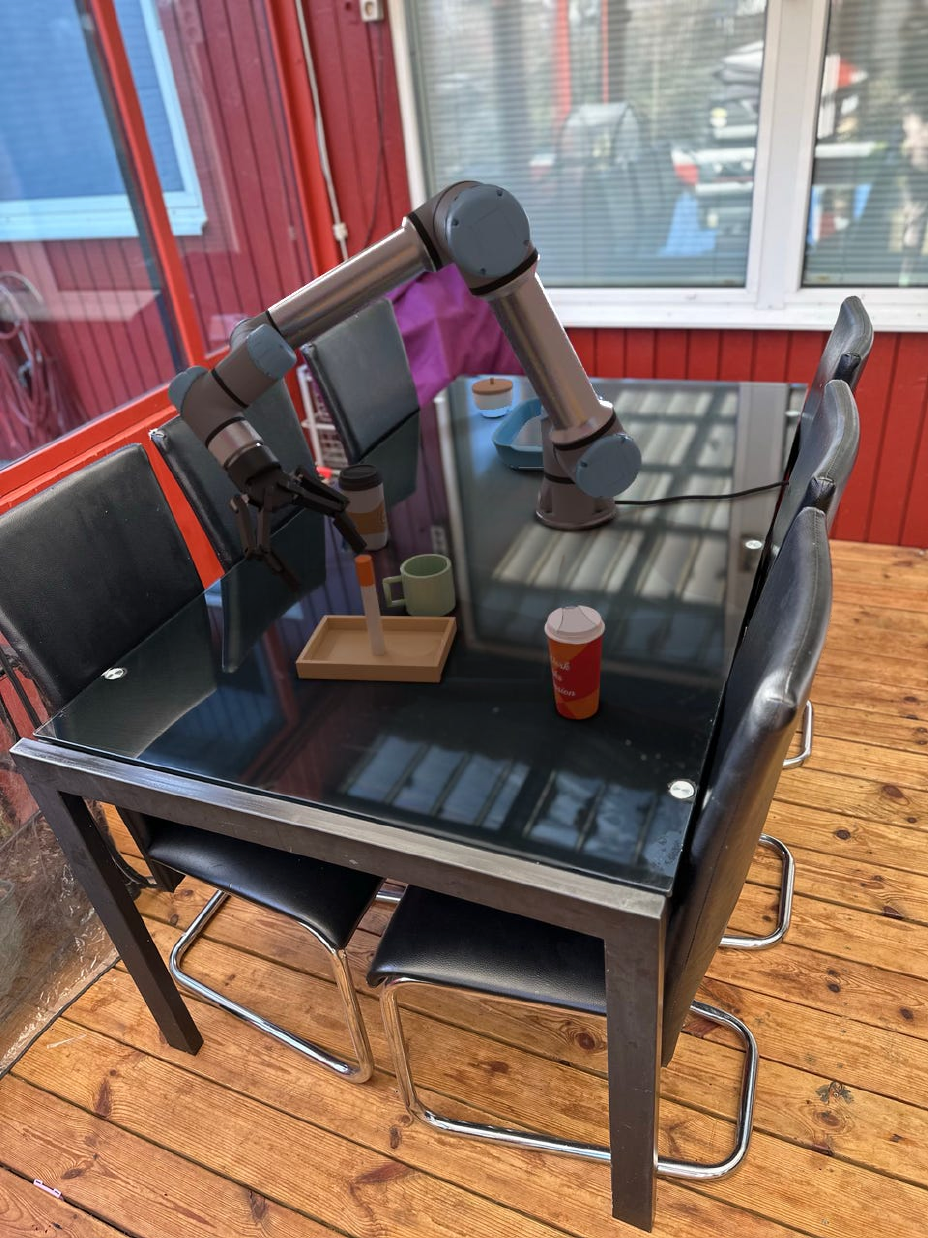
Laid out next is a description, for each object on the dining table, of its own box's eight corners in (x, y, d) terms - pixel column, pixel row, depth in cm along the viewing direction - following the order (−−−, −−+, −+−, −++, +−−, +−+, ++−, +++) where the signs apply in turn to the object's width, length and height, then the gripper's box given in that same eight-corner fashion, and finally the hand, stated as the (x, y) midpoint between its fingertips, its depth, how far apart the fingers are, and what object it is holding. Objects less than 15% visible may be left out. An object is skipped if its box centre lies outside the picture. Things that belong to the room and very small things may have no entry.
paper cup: (544, 693, 123) (539, 607, 116) (599, 687, 123) (597, 600, 116) (554, 728, 116) (549, 638, 109) (611, 721, 117) (611, 631, 109)
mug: (451, 592, 150) (446, 550, 146) (459, 616, 143) (454, 573, 139) (385, 603, 149) (379, 561, 145) (390, 628, 142) (383, 584, 138)
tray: (457, 632, 139) (455, 617, 138) (439, 682, 128) (437, 666, 126) (327, 629, 144) (324, 615, 142) (298, 678, 132) (295, 662, 131)
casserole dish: (583, 481, 186) (582, 449, 182) (482, 477, 193) (480, 446, 189) (615, 422, 215) (615, 393, 212) (527, 420, 222) (525, 392, 219)
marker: (388, 647, 136) (373, 554, 128) (384, 656, 134) (368, 562, 126) (373, 646, 137) (357, 554, 128) (369, 655, 135) (352, 562, 126)
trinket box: (470, 421, 226) (467, 385, 221) (477, 408, 235) (474, 372, 230) (512, 420, 224) (509, 383, 219) (517, 406, 233) (515, 371, 228)
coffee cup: (385, 554, 165) (374, 479, 157) (343, 554, 167) (330, 479, 159) (397, 534, 172) (387, 462, 164) (357, 534, 174) (344, 462, 166)
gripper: (297, 445, 145) (377, 547, 144) (171, 502, 129) (260, 616, 128) (314, 418, 139) (397, 523, 139) (184, 473, 123) (277, 593, 123)
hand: (331, 568), depth 133 cm, fingers open, 13 cm apart
